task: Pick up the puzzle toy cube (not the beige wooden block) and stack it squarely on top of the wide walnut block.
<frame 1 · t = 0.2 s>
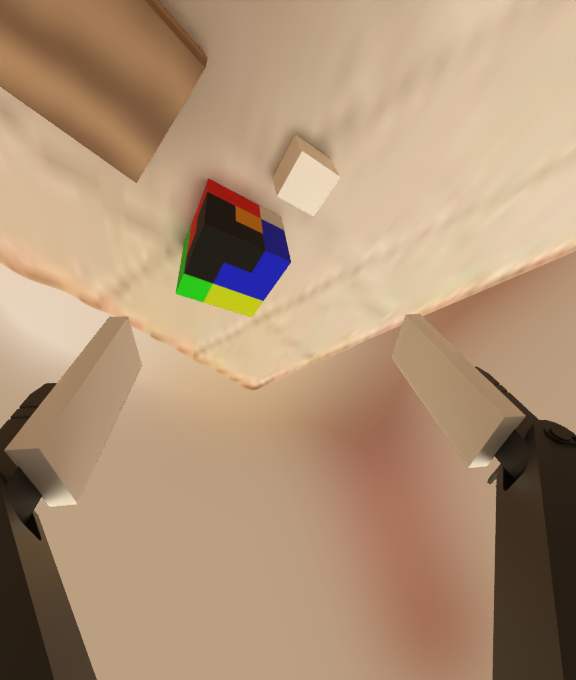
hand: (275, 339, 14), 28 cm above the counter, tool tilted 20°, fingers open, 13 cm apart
walnut block: (109, 56, 25), on the counter
beige wooden block: (301, 167, 34), on the counter
puzzle toy: (231, 230, 39), on the counter
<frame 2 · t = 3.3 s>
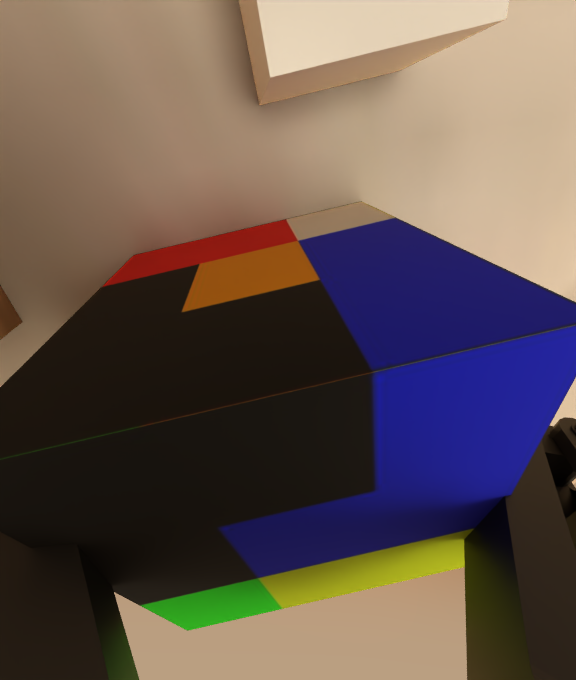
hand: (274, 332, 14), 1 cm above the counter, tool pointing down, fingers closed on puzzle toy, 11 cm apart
puzzle toy: (272, 323, 15), on the counter, touching gripper
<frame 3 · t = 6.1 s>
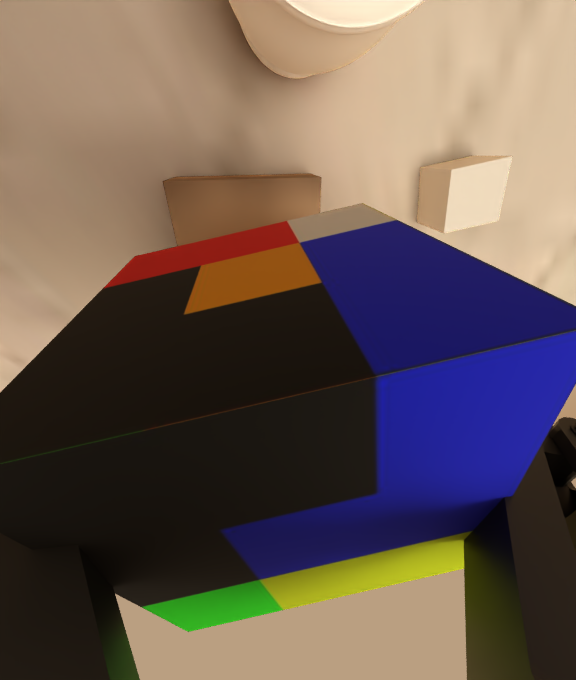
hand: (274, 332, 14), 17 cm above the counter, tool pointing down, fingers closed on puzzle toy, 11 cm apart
jar: (293, 0, 20), on the counter
walnut block: (250, 242, 29), on the counter
beige wooden block: (442, 190, 28), on the counter
puzzle toy: (273, 324, 15), point 17 cm above the counter, touching gripper
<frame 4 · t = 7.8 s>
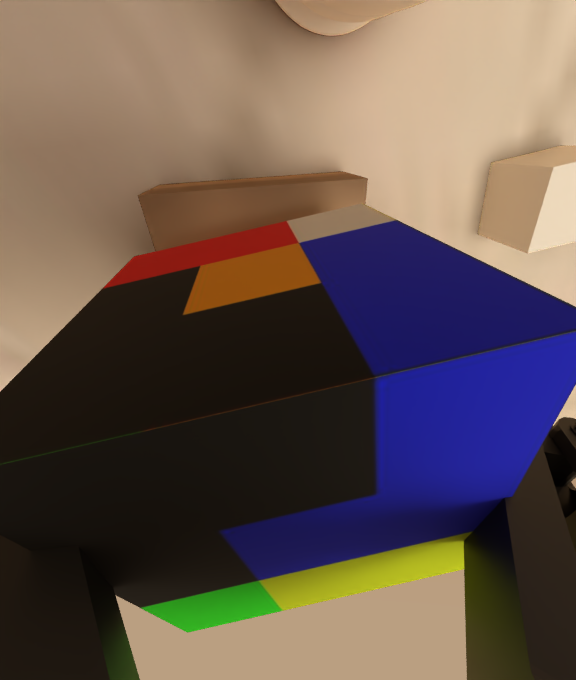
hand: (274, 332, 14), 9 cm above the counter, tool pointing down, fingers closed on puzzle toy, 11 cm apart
walnut block: (262, 264, 22), on the counter
beige wooden block: (515, 192, 21), on the counter
puzzle toy: (273, 324, 15), point 8 cm above the counter, touching gripper
when the fingers open (7 cm above the counter, at t = 9.2 s): puzzle toy drops 2 cm, resting on walnut block.
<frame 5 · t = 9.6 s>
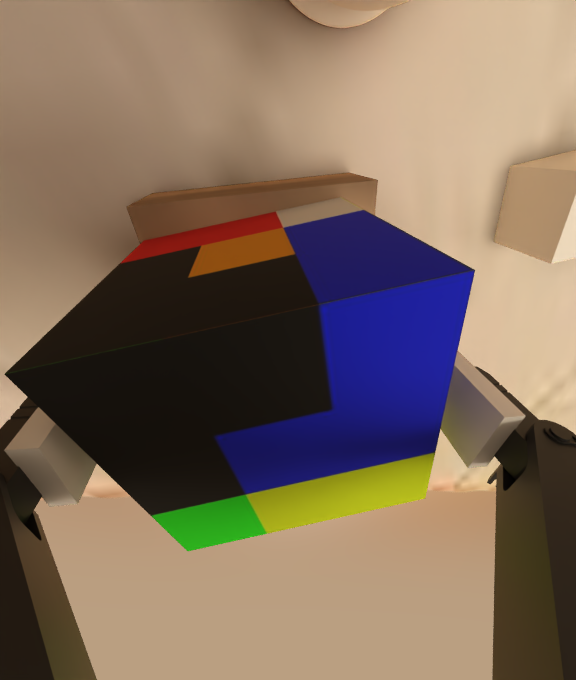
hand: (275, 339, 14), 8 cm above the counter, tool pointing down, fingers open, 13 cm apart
walnut block: (264, 274, 21), on the counter, touching puzzle toy
beige wooden block: (535, 197, 20), on the counter
puzzle toy: (264, 304, 17), point 4 cm above the counter, touching walnut block
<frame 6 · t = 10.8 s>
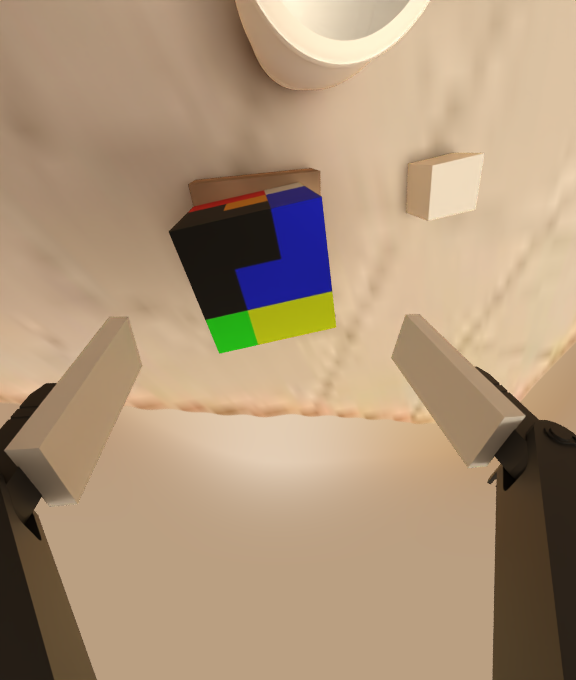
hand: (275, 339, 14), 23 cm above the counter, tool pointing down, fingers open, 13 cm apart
jar: (296, 25, 24), on the counter
walnut block: (261, 232, 33), on the counter, touching puzzle toy
beige wooden block: (428, 183, 32), on the counter
puzzle toy: (259, 247, 29), point 4 cm above the counter, touching walnut block
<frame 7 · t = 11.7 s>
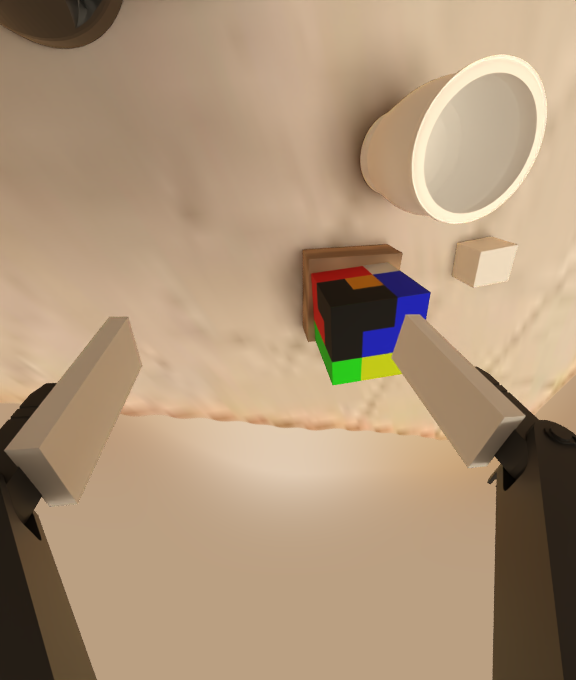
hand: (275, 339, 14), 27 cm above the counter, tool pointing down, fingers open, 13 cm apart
jar: (392, 155, 34), on the counter
walnut block: (341, 286, 43), on the counter, touching puzzle toy
beige wooden block: (470, 256, 42), on the counter
puzzle toy: (348, 302, 39), point 4 cm above the counter, touching walnut block
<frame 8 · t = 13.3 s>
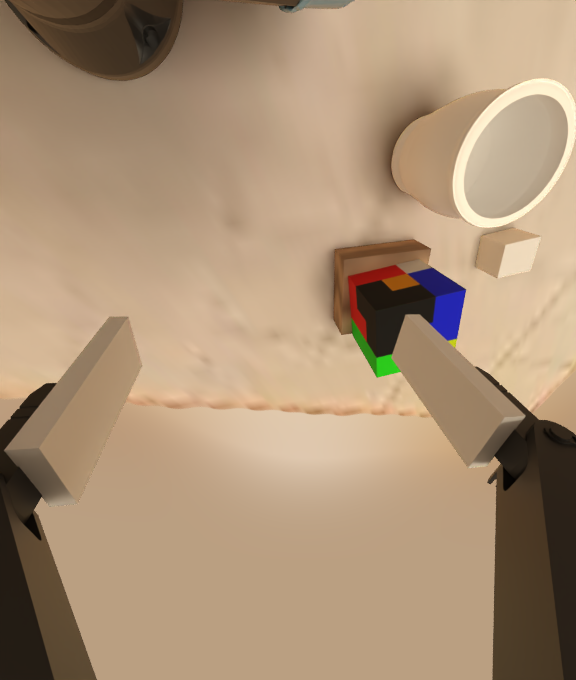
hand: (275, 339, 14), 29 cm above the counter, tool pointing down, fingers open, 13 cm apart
jar: (421, 157, 36), on the counter
walnut block: (370, 281, 45), on the counter, touching puzzle toy
beige wooden block: (493, 247, 44), on the counter
puzzle toy: (382, 298, 42), point 4 cm above the counter, touching walnut block
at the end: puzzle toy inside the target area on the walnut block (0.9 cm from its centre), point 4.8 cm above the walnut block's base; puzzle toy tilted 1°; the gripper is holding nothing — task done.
